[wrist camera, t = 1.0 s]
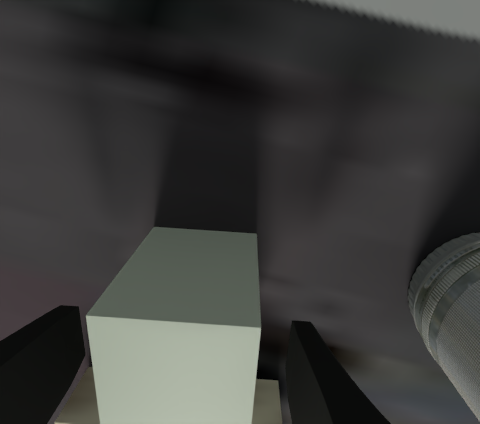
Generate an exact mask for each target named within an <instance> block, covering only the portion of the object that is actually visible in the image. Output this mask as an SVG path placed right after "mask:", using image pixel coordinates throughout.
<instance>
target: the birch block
mask: <svg viewBox="0 0 480 424" xmlns="http://www.w3.org/2000/svg"><path fill="white" fill-rule="evenodd" d="M55 424H100V419H99V411H98V404H97V396H96V388H95V381H94V373H93V367H88V369H87V370H86V372H85V374H84V375H83V377H82V378H81V380H80V382H79V383H78V385H77V387H76V388H75V390H74V392H73V393H72V395H71V397H70V398H69V400H68V401H67V403H66V405H65V406H64V408H63V410H62V411H61V413H60V415H59V416H58V418H57V420H56V421H55ZM251 424H282V415H281V405H280V395H279V385H278V380H264V379H256V384H255V393H254V403H253V413H252V423H251Z"/></svg>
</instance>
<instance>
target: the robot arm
mask: <svg viewBox="0 0 480 424" xmlns="http://www.w3.org/2000/svg"><path fill="white" fill-rule="evenodd" d="M84 356H85V348H84V341H83V334H82V327H81V320H80V313H79V307H78V306H63V305H61V306H59V307H57V308H55V309H53V310H51V311H50V312H48V313H46V314H44V315H43V316H41V317H39V318H38V319H36V320H34V321H33V322H31V323H30V324H28V325H26V326H25V327H23V328H21V329H20V330H18V331H16V332H15V333H13V334H11V335H10V336H8V337H6V338H5V339H3V340H1V341H0V424H47V423H48V421H49V420H50V418H51V416H52V415H53V413H54V412H55V410H56V408H57V407H58V405H59V404H60V402H61V400H62V399H63V397H64V396H65V394H66V392H67V391H68V389H69V387H70V386H71V384H72V382H73V380H74V378H75V376H76V374H77V372H78V369H79V367H80V365H81V363H82V361H83V359H84ZM286 381H287V393H288V402H289V408H290V413H291V418H292V424H391V423H390V422H389V421H388V420H387V419H386V418H385V417H384V416H383V415H382V414H381V413H380V412H379V411H378V409H377V408H376V407H375V406H374V405H373V404H372V403H371V402H370V400H369V399H368V398H367V397H366V396H365V394H364V393H363V392H362V391H361V390H360V389H359V387H358V386H357V385H356V384H355V382H354V381H353V380H352V379H351V377H350V376H349V375H348V373H347V372H346V371H345V369H344V368H343V367H342V366H341V364H340V363H339V362H338V360H337V359H336V358H335V356H334V355H333V353H332V352H331V351H330V349H329V348H328V346H327V345H326V343H325V342H324V341H323V339H322V338H321V336H320V335H319V333H318V332H317V330H316V329H315V327H314V326H313V324H312V323H311V322H306V321H292V325H291V332H290V339H289V346H288V354H287V361H286Z"/></svg>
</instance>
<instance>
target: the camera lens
mask: <svg viewBox="0 0 480 424" xmlns="http://www.w3.org/2000/svg"><path fill="white" fill-rule="evenodd" d="M408 293H409V295H408V300H409V307H410V311H411V313H412V315H413V317H414V322H415V325H416V328H417V330H418V332H419V333H420V335H421V337H422V339H423V340H424V343H425V345H426V347H427V349H428V350H429V352H430V353H431V355H432V356H433V358H434V359H435V360H436V362H437V363H438V364H439V365H440V366H441V368H442V369H443V371H444V372H445V374H446V375H447V376H448V378H449V379H450V381H451V382H452V383H453V385H454V386H455V388H456V389H457V391H458V392H459V393H460V395H461V396H462V398H463V399H464V400H465V402H466V403H467V404H468V406H469V407H470V409H471V410H472V411H473V413H474V414H475V416H476V417H477V418H478V420H479V421H480V232H479V233H471V234H468V235H462V236H460V237H459V238H454V239H452V240H451V241H449V242H446V243H444V244H443V245H442V246H440V247H438V248H436V249H435V250H434V251H433V252H432V253H430V254H429V255H428V256H427V258H426V259H424V260H423V261H422V262H421V264H420V266H418V267H417V269H416V272H415V273H414V275H413V276H412V280H411V281H410V287H409V289H408Z"/></svg>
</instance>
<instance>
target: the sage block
mask: <svg viewBox="0 0 480 424" xmlns="http://www.w3.org/2000/svg"><path fill="white" fill-rule="evenodd" d="M86 320H87V328H88V336H89V343H90V351H91V358H92V366H93V373H94V381H95V388H96V396H97V404H98V411H99V419H100V424H251V423H252V413H253V403H254V393H255V384H256V374H257V364H258V354H259V344H260V334H261V315H260V293H259V271H258V250H257V234H255V233H240V232H225V231H210V230H195V229H180V228H165V227H153V229H152V230H151V231H150V233H149V234H148V235H147V237H146V238H145V239H144V240H143V242H142V243H141V244H140V246H139V247H138V248H137V250H136V251H135V252H134V254H133V255H132V256H131V257H130V259H129V260H128V261H127V263H126V264H125V265H124V267H123V268H122V269H121V270H120V272H119V273H118V274H117V276H116V277H115V278H114V280H113V281H112V282H111V283H110V285H109V286H108V287H107V289H106V290H105V291H104V293H103V294H102V295H101V297H100V298H99V299H98V300H97V302H96V303H95V304H94V306H93V307H92V308H91V310H90V311H89V312H88V313H87V315H86Z"/></svg>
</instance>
